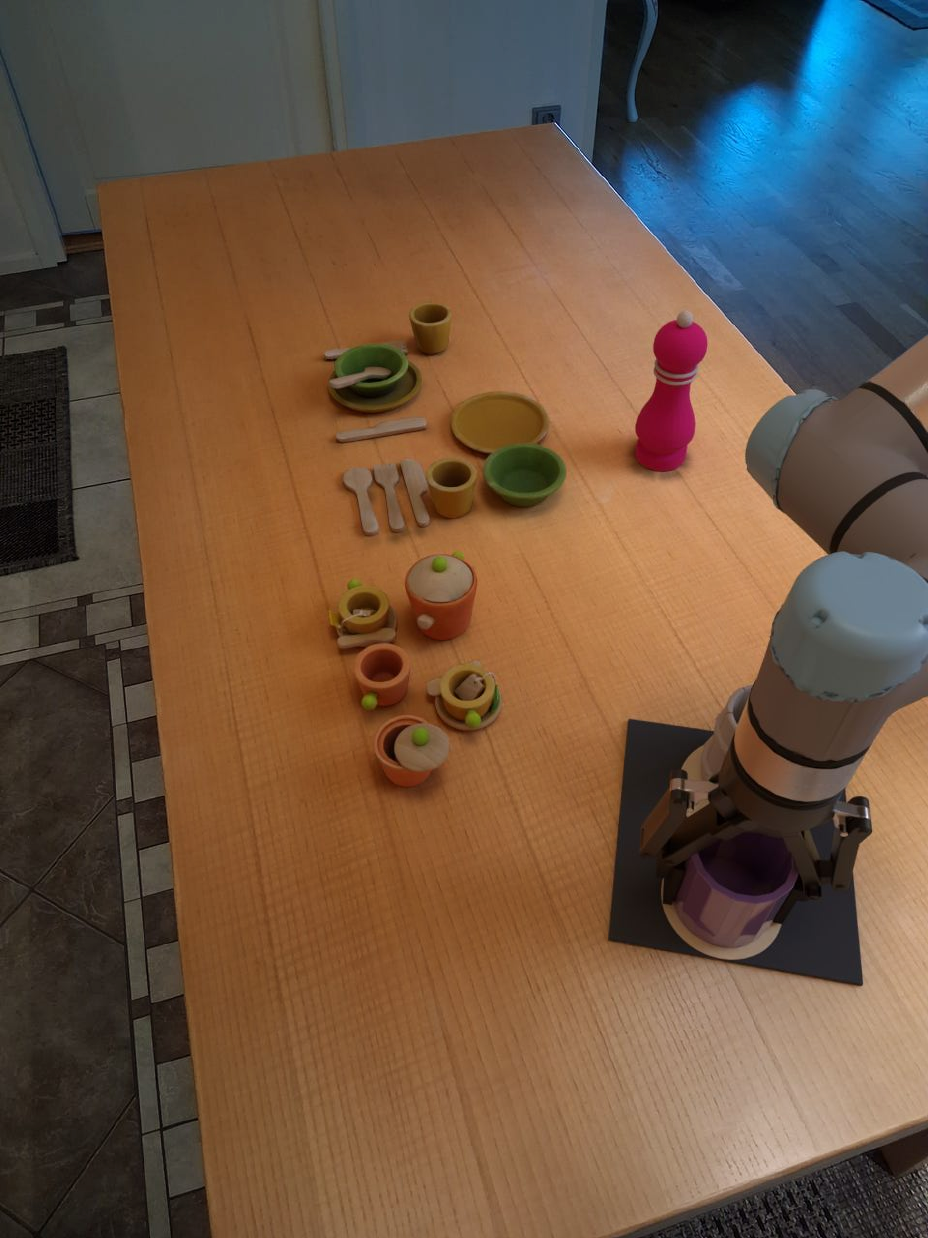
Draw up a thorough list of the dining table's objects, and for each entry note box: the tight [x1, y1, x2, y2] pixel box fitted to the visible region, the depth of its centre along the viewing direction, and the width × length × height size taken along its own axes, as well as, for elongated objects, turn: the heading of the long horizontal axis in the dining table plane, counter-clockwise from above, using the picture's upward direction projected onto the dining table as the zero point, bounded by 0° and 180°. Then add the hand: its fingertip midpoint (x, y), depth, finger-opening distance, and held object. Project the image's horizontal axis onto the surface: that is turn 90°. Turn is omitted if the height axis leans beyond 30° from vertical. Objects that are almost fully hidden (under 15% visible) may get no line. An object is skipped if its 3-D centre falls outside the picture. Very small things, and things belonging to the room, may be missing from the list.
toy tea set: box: [328, 551, 503, 788], centre depth 88 cm, size 26×16×10 cm, turn 15°
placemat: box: [607, 718, 864, 987], centre depth 79 cm, size 20×22×1 cm
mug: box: [701, 684, 753, 781], centre depth 77 cm, size 8×12×12 cm, turn 0°
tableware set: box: [323, 301, 567, 537], centre depth 116 cm, size 41×28×6 cm
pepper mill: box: [634, 310, 709, 472], centre depth 106 cm, size 7×7×20 cm
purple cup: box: [673, 832, 799, 948], centre depth 72 cm, size 8×8×9 cm
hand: (722, 898), depth 75 cm, fingers closed on purple cup, 8 cm apart
